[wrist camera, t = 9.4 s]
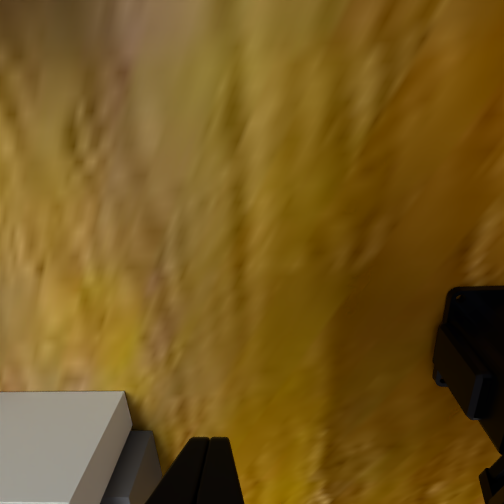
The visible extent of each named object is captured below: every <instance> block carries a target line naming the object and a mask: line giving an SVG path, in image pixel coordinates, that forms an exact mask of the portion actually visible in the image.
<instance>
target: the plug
mask: <svg viewBox="0 0 504 504" xmlns="http://www.w3.org/2000/svg"><path fill="white" fill-rule="evenodd" d="M161 478H162V472H161V468H160V463H159V459H158V454H157V450H156V445H155V441H154V436H153V432H152V431H130V432H129V435H128V437H127V440H126V442H125V444H124V447H123V449H122V452H121V454H120V456H119V459H118V461H117V464H116V466H115V468H114V471H113V473H112V475H111V478H110V480H109V483H108V485H107V487H106V490H105V492H104V495H103V497H102V499H101V502H100V504H144V503H145V502H146V500H147V499H148V498H149V496H150V495H151V493H152V492H153V490H154V489H155V488H156V486H157V485H158V483H159V482H160V481H161Z"/></svg>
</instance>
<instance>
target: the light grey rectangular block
mask: <svg viewBox="0 0 504 504" xmlns="http://www.w3.org/2000/svg"><path fill="white" fill-rule="evenodd" d="M132 425H133V424H132V420H131V416H130V412H129V408H128V404H127V400H126V397H125V393H124V391H90V392H0V504H100V502H101V499H102V497H103V495H104V492H105V490H106V487H107V485H108V483H109V480H110V478H111V475H112V473H113V471H114V468H115V466H116V464H117V461H118V459H119V456H120V454H121V452H122V449H123V447H124V444H125V442H126V440H127V437H128V435H129V432H130V430H131V428H132Z"/></svg>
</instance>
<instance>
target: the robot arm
mask: <svg viewBox="0 0 504 504" xmlns="http://www.w3.org/2000/svg"><path fill="white" fill-rule="evenodd" d="M459 295H462V296H461V297H460V298H459V299H456V297H457V296H459ZM433 363H434V365H435V366H434V371H433V379H434V381H435V382H436V384H437V385H438V386H441V387H449V389H450V391H451V392H452V394H453V396H454V397H455V399H456V400H457V402H458V404H459V405H460V407H461V408H462V410H463V412H464V413H465V415H466V416H467V417H468V418H469V419H470V420H478V421H479V422H480V424H481V426H482V427H483V429H484V430H485V432H486V433H487V435H488V436H489V438H490V440H491V441H492V443H493V444H494V446H495V447H496V449H497V450H498V452H499V453H500V454H501V455H502V456H501V457H500V458H499V459H498V460H497V461H496V462H495V463H494V464H493V465H492V466H491V467H490V468H486V469H485V470H484V471H483V472H482V473H481V474H480V475H479V481H480V485H481V489H482V493H483V497H484V501H485V504H504V286H478V287H456V288H453V289H451V290H450V291H449V293H448V295H447V301H446V306H445V312H444V317H443V322H442V324H441V325H440V326H439V329H438V334H437V340H436V345H435V351H434V356H433ZM441 378H442V379H441ZM144 504H244V500H243V495H242V491H241V487H240V483H239V479H238V474H237V470H236V466H235V462H234V458H233V453H232V449H231V445H230V441H229V439H228V438H227V437H212V438H211V439H209V438H208V437H192V438H191V439H189V441H188V442H187V444H186V445H185V446H184V448H183V449H182V451H181V452H180V453H179V455H178V456H177V458H176V459H175V461H174V462H173V463H172V465H171V466H170V468H169V469H168V471H167V472H166V473H165V475H164V476H163V478H162V479H161V481H160V482H159V483H158V485H157V486H156V488H155V489H154V490H153V492H152V493H151V495H150V496H149V498H148V499H147V500H146V502H145V503H144Z"/></svg>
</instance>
